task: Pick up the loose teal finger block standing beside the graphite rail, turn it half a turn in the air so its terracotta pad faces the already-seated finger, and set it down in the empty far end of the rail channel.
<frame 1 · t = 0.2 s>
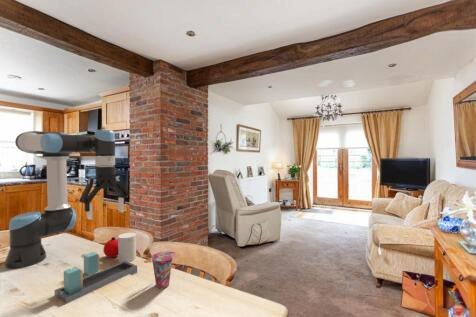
hand: (106, 215, 103), 27 cm above the table, fingers open, 13 cm apart
cup 2: (163, 285, 97), on the table
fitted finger: (72, 293, 89), resting on rail
ornament: (113, 257, 123), on the table
rail: (100, 284, 98), on the table
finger: (91, 274, 105), on the table
cup: (127, 259, 121), on the table
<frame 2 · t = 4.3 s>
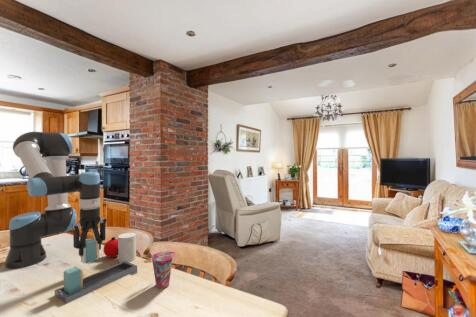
hand: (90, 259, 105), 6 cm above the table, fingers closed on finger, 5 cm apart
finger: (88, 260, 105), point 6 cm above the table, touching gripper
everything else where it was.
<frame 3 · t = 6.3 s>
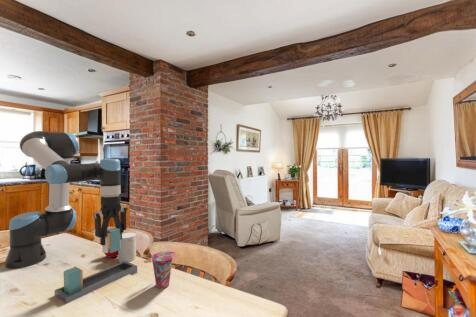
hand: (111, 249, 102), 12 cm above the table, fingers closed on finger, 5 cm apart
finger: (113, 250, 102), point 12 cm above the table, touching gripper
everything else where it was.
when the fingers open (3 cm above the table, at t = 8.5 s): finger drops 1 cm, resting on rail.
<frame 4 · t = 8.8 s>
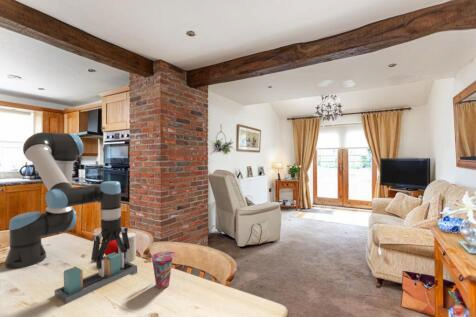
hand: (111, 271, 102), 3 cm above the table, fingers open, 8 cm apart
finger: (113, 275, 102), point 1 cm above the table, touching rail
everything else where it was.
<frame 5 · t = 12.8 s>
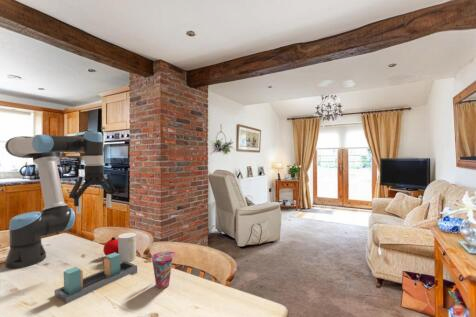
hand: (94, 210, 112), 27 cm above the table, fingers open, 13 cm apart
nothing on the table moved.
at the end: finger inside the target area on the rail (0.6 cm from its centre), point 1.0 cm above the rail's base; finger tilted 0°; the gripper is holding nothing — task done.
